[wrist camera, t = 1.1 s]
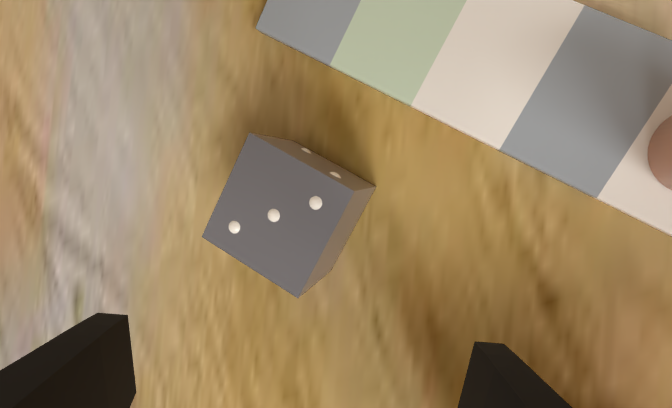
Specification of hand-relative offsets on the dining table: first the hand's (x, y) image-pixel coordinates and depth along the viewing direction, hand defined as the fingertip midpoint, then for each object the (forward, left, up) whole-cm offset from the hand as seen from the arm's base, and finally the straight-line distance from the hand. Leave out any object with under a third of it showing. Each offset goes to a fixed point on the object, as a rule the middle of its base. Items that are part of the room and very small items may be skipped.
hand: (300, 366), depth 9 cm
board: (0, -10, -11) cm, 14 cm away
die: (+4, -1, -11) cm, 11 cm away
